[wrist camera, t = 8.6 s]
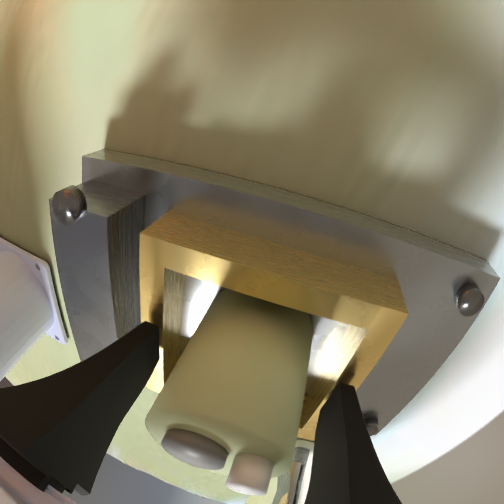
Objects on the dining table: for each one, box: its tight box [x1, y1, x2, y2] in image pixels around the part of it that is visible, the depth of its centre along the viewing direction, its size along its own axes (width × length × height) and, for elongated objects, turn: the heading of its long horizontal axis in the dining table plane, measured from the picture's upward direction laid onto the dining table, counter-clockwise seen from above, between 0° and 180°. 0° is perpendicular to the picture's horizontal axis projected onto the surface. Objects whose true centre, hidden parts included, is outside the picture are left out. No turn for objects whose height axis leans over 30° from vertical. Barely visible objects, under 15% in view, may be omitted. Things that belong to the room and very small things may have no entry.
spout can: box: [145, 289, 313, 496], centre depth 10 cm, size 5×5×7 cm
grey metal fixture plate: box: [49, 149, 500, 441], centre depth 12 cm, size 18×12×5 cm, turn 78°
